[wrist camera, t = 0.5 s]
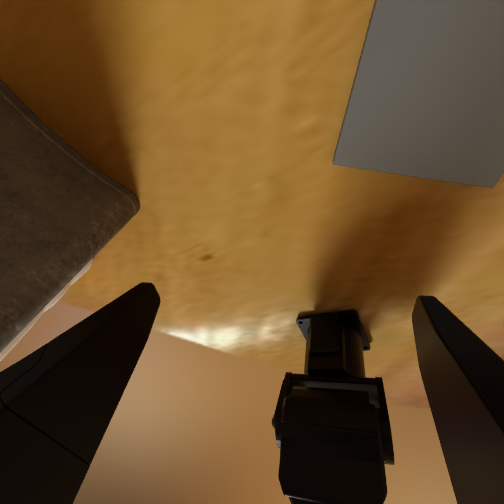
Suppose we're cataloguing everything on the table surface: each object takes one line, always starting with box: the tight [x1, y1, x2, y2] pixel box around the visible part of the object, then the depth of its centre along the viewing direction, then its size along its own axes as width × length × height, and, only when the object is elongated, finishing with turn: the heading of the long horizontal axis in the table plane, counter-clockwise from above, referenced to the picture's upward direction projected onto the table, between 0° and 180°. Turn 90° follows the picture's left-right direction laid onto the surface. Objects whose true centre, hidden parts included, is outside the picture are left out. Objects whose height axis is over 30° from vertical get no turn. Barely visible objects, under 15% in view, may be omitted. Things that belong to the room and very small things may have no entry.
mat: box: [333, 0, 504, 188], centre depth 15 cm, size 10×10×1 cm
